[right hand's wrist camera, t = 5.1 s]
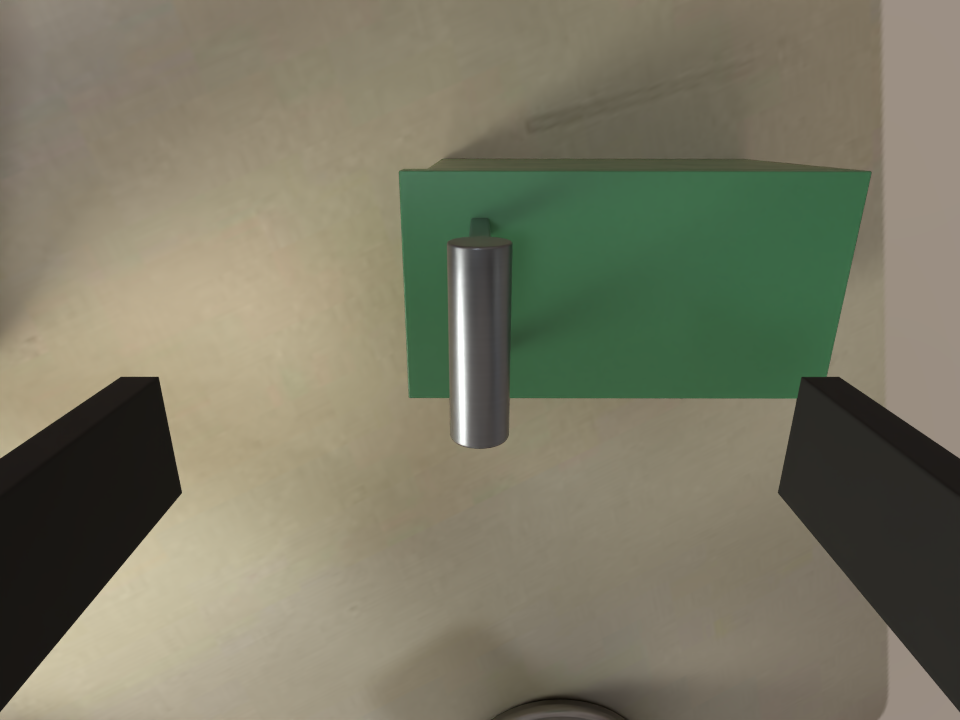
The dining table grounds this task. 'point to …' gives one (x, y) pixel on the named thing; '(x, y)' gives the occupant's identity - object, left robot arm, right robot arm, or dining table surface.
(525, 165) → the chest
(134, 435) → the right robot arm
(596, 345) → the lid
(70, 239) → the dining table surface
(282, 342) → the dining table surface
